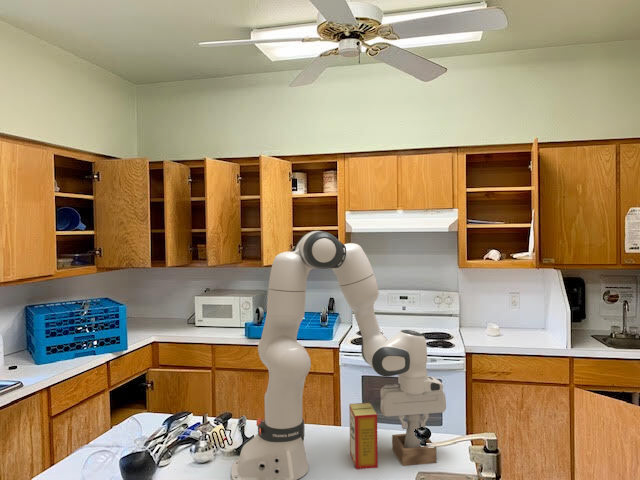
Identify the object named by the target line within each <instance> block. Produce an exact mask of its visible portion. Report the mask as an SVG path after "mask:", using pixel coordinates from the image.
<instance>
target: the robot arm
mask: <svg viewBox="0 0 640 480" xmlns="http://www.w3.org/2000/svg"><path fill="white" fill-rule="evenodd" d="M272 261H273V262H272V265H271V269H270V274H269V281H268V289H267V290H268V291H267V303H266V304H267V305H266V307H267V308H266V314H265V315H266V316H265V320H264V325H263V327H262V328H263V329H262V333H261V338H260V340H259V342H258V345H257V353H258V356H259V359H260V361H261V363H262V364H263V365H264V366H265V367H266V368H267V370H268V381H267V382H268V384H267V388H266V392H265V393H264V419H262V418H260V417H259V418H258V419H257V420H256V427H257V434H256V435H255V436H254V437H252V438H251V439H250V440H249V441H248V442H246V443H245V444H244V445H243V446H242V448H241V450H240V454H239V457H238V459H236V460H235V461H234V462H233V464H232V466H231V473H230V478H231V480H298V479H301V478H303V477H304V476H305V475H306V474H307V473H308V471H309V469H310V468H309V467H310V466H309V463H308V460H307V455H306V450H305V449H306V448H305V437H306V435H305V433H306V432H305V421H304V420H305V419H304V418H303V392H304V386H305V382H306V378H307V376H308V374H309V373H310V370H311V364H312V361H311V357H310V355H309V353H308V351H307V350H306V348H305V347H304V345H302V344H301V343H299V342H298V340H297V338H298V337H297V336H298V332H299V329H300V325H301V323H302V321H303V320H304V318H305V307H306V295H307V279H308V276H309V274H310V272H311V270H312V269H317V270H318V269H320V270H327V269H331V270H332V271H333V273H334V274H335V276H336V279H337V282H338V285H339V288H340V290H341V292H342V295H343V297H344V299H345V301H346V302H347V304H348V306H349V307H350V309H351V310H352V312H353V314H354V318H355V319H356V320H355V321H356V322H357V326H358V329H359V332H360V336H361V346H360V347H361V349H360V350H361V356H362V359H363V360H364V362H366V363H367V365H369V366H370V367H371V368H372V369H373V370H374V372H375V373H377V374H378V375H380V376H382V377H394V376H398V378H397V379H398V380H397V381H398V383H394V384H393V383H392V384H385V385H384V386H382V387H381V388H380V392H379V393H380V394H379V395H380V407H379V408H380V412H381V414H382V415H383V416H384V417H386V418H387V417H398V418H399V421H400V422H401V428H402V430H407V429H408V421H405V420H404V419H405V416H406V415H415V414H420V415H422V417H421V418H420V420H419V421H418V422H419V428H420V429H421V427H423V429H424V428H426V422H427V421H428V419H429V417H430V416H429V414H440V413H441V414H442V413H444V412H446V410H447V400H446V395H445V392H444V391H443V389H444V384H443V383H442V382H441V381H440V380H439V379H437V378H435V377H434V376H429V375H428V370H427V363H428V347H427V340H426V337H425V336H424V335H423V334H422V333H420V332H418V331H415V330H411V329H402V330H400V331H399V333H397V334H396V335H394V336H393V337H392V338H389V339H387V337H386V336H384V335H383V334H382V332H381V329H380V327H379V323H378V319H377V316H376V314H375V308H374V306H375V302H376V301H377V300H378V297H379V295H380V294H379V293H380V292H379V287H378V286H379V285H378V283H377V278H376V275H375V273H374V270H373V267H372V265H371V263H370V260H369V258H368V256H367V254H366V252H365V251H364V249H363V247H361V245H360V244H358V243H353V242H349V243H345V244H344V243H342V241H341V240H339V239H338V238H337V237H336V236H335V235H333V234H331V233H329V232H327V231H322V230H313V231H312V230H311V231H310V232H308V233H305V234H304V235H303V236H301V237H300V239H298V241H297V243H296V245H295V246H294V248H293V249H292V251H283V252H280V253H278V254H277V255H276V256H275V257H274V259H273V260H272Z"/></svg>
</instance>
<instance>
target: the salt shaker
mask: <svg viewBox="0 0 640 480" xmlns="http://www.w3.org/2000/svg"><path fill="white" fill-rule="evenodd" d="M405 418H406V420H407V423H408V429H405V430H406V431H405V434H406V436H405V442H404V447H405V448H413V447H421V446H420V439H418V438H417V437H416V436H415V432H414V431H415V429H416V430H417V428H420V427H419V420H421V414H415V415H405Z"/></svg>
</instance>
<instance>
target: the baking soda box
mask: <svg viewBox="0 0 640 480" xmlns="http://www.w3.org/2000/svg"><path fill="white" fill-rule="evenodd" d="M378 451H379V450H378V414H377V412H376V410H375V408H374V407H373V405H372V404H371V402H361V403H360V402H358V403H349V453H350V454H349V455H350V457H351V459H352V462H353V465H354V467H355V469H356V470H361V469H362V470H363V469H364V470H365V469H377V468H378V467H379V465H378V464H379V463H378V462H379V458H378V457H379V456H378V455H379V453H378Z"/></svg>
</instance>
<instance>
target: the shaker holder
mask: <svg viewBox="0 0 640 480" xmlns="http://www.w3.org/2000/svg"><path fill="white" fill-rule="evenodd" d="M405 436H406V433H399V434H398V433H397V434H392V435H391V441H392V442H391V443H392V444H391V447H392V450H393V451H392V452H393V453H394V454H395V455H396V458H398V460H399V462H400V463H401V465H402V466H403V467H404V466H405V467H406V466H414V465H415V466H417V465H425V464H426V465H428V464H437V447H436V446H435V447H434V448H428V447H413V448H405V447H404V442H405ZM426 443H433V442H432V441H431V439H427V440H426Z"/></svg>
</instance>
